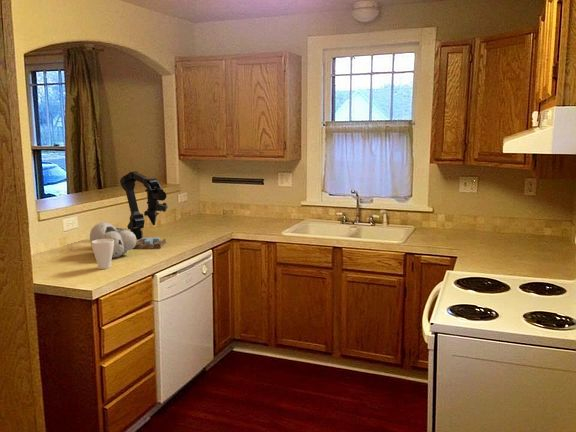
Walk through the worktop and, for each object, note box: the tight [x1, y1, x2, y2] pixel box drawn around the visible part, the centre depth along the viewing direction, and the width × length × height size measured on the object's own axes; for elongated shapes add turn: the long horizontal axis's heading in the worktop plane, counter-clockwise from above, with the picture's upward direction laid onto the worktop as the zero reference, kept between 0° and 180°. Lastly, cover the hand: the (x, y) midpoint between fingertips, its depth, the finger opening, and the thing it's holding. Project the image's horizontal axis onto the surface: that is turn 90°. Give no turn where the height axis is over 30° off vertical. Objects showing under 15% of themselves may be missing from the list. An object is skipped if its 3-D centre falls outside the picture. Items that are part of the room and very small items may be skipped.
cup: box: [90, 239, 114, 270], centre depth 259 cm, size 10×10×14 cm
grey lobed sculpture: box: [89, 221, 138, 259], centre depth 286 cm, size 20×25×22 cm
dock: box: [133, 238, 167, 250], centre depth 308 cm, size 15×15×2 cm
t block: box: [141, 236, 161, 244], centre depth 308 cm, size 10×10×4 cm
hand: (153, 225), depth 316 cm, fingers closed
